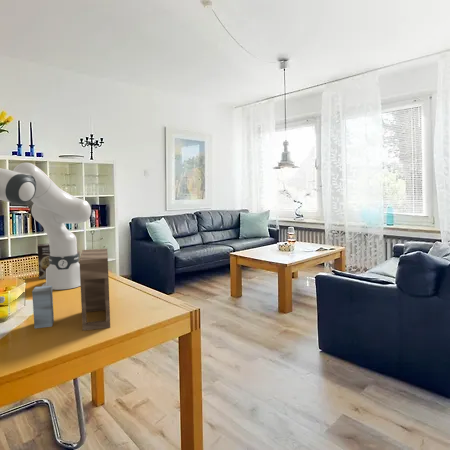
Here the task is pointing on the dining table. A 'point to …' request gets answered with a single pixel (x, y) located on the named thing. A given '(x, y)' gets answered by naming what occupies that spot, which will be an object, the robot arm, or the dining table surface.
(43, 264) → the coffee box
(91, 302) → the walnut box
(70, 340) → the dining table surface
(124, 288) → the dining table surface
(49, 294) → the slate block
